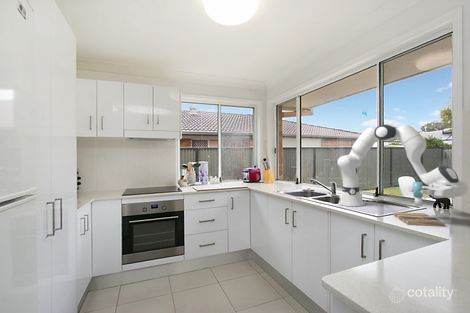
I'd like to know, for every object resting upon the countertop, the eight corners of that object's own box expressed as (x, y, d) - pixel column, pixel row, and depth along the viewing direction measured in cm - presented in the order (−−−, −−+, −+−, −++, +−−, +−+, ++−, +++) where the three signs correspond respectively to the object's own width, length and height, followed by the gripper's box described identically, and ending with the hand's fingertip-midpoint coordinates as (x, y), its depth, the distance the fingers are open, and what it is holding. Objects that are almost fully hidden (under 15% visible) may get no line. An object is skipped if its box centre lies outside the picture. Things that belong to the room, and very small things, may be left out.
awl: (412, 204, 126) (411, 182, 126) (421, 205, 125) (419, 181, 125) (416, 206, 122) (414, 182, 122) (424, 206, 121) (423, 182, 121)
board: (393, 215, 138) (393, 211, 138) (424, 216, 133) (424, 213, 133) (407, 224, 119) (407, 220, 119) (444, 226, 114) (444, 222, 114)
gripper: (420, 182, 136) (400, 183, 134) (457, 186, 115) (434, 187, 114) (420, 193, 135) (400, 194, 134) (458, 198, 115) (435, 200, 113)
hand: (416, 191), depth 123 cm, fingers closed on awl, 4 cm apart
